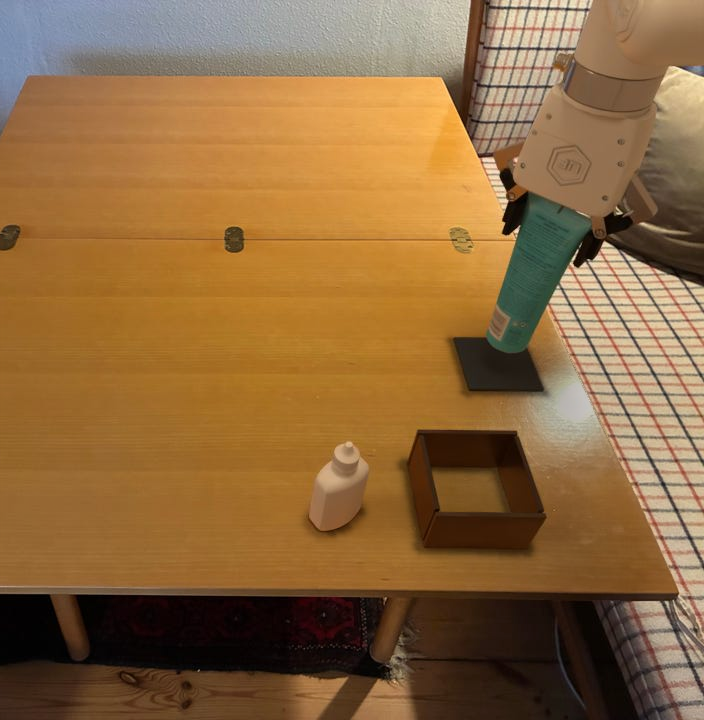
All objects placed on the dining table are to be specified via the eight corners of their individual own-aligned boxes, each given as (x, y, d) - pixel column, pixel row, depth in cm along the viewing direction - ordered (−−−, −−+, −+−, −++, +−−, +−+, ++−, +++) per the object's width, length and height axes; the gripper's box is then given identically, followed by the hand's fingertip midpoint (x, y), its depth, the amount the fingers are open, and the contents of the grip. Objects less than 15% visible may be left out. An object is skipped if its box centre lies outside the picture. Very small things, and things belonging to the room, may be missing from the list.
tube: (543, 345, 84) (607, 210, 70) (523, 365, 81) (584, 230, 67) (489, 315, 87) (539, 181, 73) (468, 334, 85) (515, 199, 71)
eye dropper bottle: (305, 496, 74) (315, 426, 65) (357, 494, 74) (374, 424, 66) (310, 533, 71) (322, 465, 62) (364, 530, 71) (384, 462, 63)
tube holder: (500, 463, 77) (517, 430, 73) (527, 548, 70) (547, 517, 65) (406, 462, 77) (417, 429, 73) (423, 547, 70) (436, 515, 66)
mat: (522, 339, 91) (523, 337, 90) (543, 391, 84) (544, 389, 84) (453, 339, 91) (453, 336, 90) (468, 390, 84) (469, 388, 84)
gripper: (500, 67, 64) (454, 227, 76) (699, 131, 55) (610, 299, 68) (538, 43, 67) (489, 199, 80) (730, 99, 59) (641, 264, 72)
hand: (545, 244), depth 74 cm, fingers closed on tube, 7 cm apart
